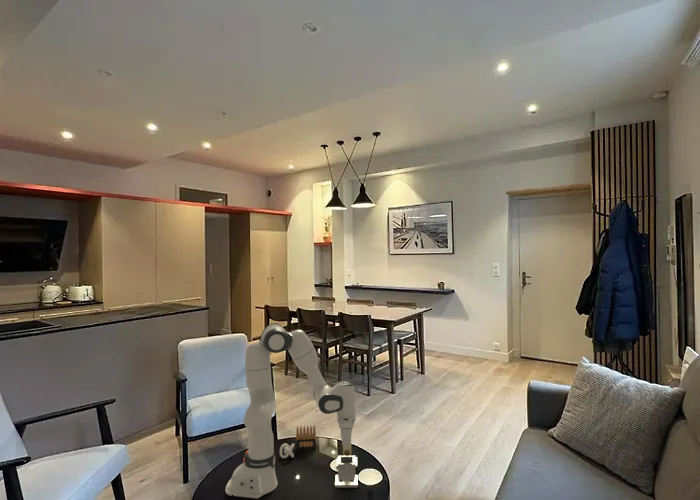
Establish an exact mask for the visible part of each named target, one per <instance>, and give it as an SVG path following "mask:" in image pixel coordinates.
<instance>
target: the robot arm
mask: <svg viewBox="0 0 700 500" xmlns="http://www.w3.org/2000/svg"><path fill="white" fill-rule="evenodd" d="M286 351H288V353H289V355H290V357H291V360H292V361H293V363H294V364H295V366H296V367H297V369H298V370H299V371H301V372H303V373H305V375H306V376H307V378H308V379H309V381H310V383H311V386H312V388H313V398H314V401H315V402H316V404H317V406H318V410H319V411H320V412H321V413H323V414H324V415H330V414H335V413H336V421H337V424H338V428H339V429H340V438H341V444H342V447H343V446H345V450H348V449H349V446H350V444H351V445H352V433H353V432H352V430H353V428H354V424H355V422H356V420H357V419H356V418H357V417H356V406H355V404H356V392H355V387H354V385H353V384H352V383H351V382H349V381H345V380H344V381H338V382H337V383H336V384H335V385H334V386H331V385H330V383H328V382H326V381H325V379H324V377H323V375H322V373H321V370H320V368H319V357H318V353H317V350H316V349H315V347H314V344H313V343H312V341H311V339H310V338H309V336H308V334H306V333H305V331H304V330H302V329H295V330H292V331H289V332H288V331H286V329H285V328H284V326H282V325H281V324H279V323H270V324H268V325H266V326H265V327H264V329H263V330H262V333H261V335H260V337H259V339H258V341H256V342H252V343H250V344H249V345H248V346H247V347H246V350H245V359H244V360H245V361H244V370H245V383H246V388H247V390H248V393H249V397H250V403H249V405H248V407H247V408H246V409H245V412H244V417H243V423H244V426H245V428H246V433H247V441H248V442H247V443H248V445H247V446H248V447H247V448H248V449H247V450H246V451H245V454H244V457H243V461H242V462H243V463H241V464H240V465H238V466H237V467H236V468H235V470H234V471H233V473H232V475H231V478H230V479H229V480H228V482H227V484H226V486H225V491H224V492H226V493H225V495H226V494H228V495H227V496H232V495H233V497H241V498H250V499H259V498H261V497H263V496H264V495H266V494H269V493H271V492H272V491H274V490H276V488H277V486H278V484H279V483H278V478H277V475H276V469H275V464H276V454H275V450H274V449H275V445H274V444H275V443H274V440H275V439H274V437H275V436H274V433H273V430H272V429H273V428H272V416H273V414H274V413H275V410H276V406H277V404H276V403H277V401H276V397H275V393H274V389H273V381H272V369H271V368H272V367H271V355H272V353H273V354H279V353H282V352H286Z"/></svg>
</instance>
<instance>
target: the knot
mask: <svg viewBox="0 0 700 500" xmlns="http://www.w3.org/2000/svg"><path fill="white" fill-rule="evenodd" d="M295 447H296V443H292V444H291V445H289V444H288V443H283V444H281V446H280V447H279V456H280V457H281V459H287V458H288V457H289V456H290V457H291V458H292V459H294V457H295V454H294V452H293V450H294V448H295ZM283 452H284V453H283Z"/></svg>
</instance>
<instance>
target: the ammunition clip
mask: <svg viewBox="0 0 700 500" xmlns="http://www.w3.org/2000/svg"><path fill="white" fill-rule="evenodd" d="M316 433H317V432H316V425H313V427H312V425H310V427H309V426H308V425H307V426H305V425H304V426H303V427H302V426H300V427H299V426H297V427H296V433H295V434H296V435H295V441H296V442H295V450H310V449H311V450H312V449H313V448H314V449H317V434H316Z"/></svg>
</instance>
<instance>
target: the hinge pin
mask: <svg viewBox="0 0 700 500" xmlns="http://www.w3.org/2000/svg"><path fill="white" fill-rule="evenodd" d="M342 456H352V443H351V444H350V446H349V449H348V450H345V446H343V445H342Z"/></svg>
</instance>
